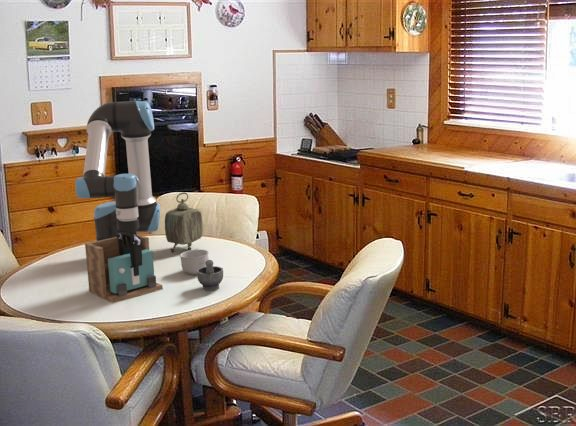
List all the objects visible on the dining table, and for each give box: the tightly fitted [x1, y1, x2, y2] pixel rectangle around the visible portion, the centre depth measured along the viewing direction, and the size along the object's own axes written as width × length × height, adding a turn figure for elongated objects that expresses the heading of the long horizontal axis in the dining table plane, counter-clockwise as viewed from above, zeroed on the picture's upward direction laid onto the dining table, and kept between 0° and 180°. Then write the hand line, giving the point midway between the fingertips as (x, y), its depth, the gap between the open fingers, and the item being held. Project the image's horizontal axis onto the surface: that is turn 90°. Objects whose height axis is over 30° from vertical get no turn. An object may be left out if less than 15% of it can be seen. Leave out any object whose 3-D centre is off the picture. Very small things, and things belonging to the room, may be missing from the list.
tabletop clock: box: [164, 192, 203, 253], centre depth 319 cm, size 14×9×25 cm, turn 144°
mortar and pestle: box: [196, 259, 224, 292], centre depth 270 cm, size 11×9×12 cm
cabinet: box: [84, 233, 164, 304], centre depth 270 cm, size 17×20×18 cm
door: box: [108, 249, 155, 294], centre depth 266 cm, size 5×16×12 cm, turn 133°
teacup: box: [179, 248, 210, 276], centre depth 291 cm, size 14×11×8 cm
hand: (132, 282), depth 268 cm, fingers closed on door, 3 cm apart
